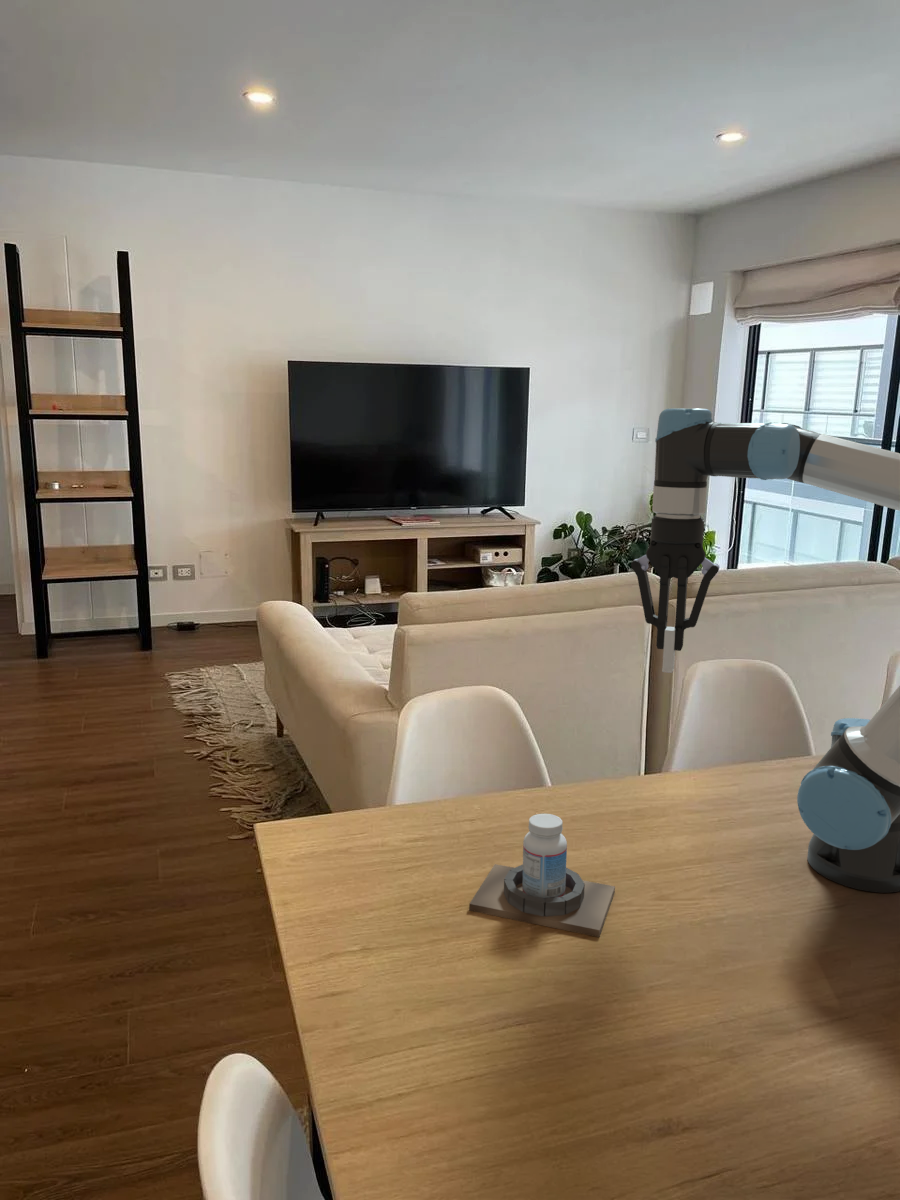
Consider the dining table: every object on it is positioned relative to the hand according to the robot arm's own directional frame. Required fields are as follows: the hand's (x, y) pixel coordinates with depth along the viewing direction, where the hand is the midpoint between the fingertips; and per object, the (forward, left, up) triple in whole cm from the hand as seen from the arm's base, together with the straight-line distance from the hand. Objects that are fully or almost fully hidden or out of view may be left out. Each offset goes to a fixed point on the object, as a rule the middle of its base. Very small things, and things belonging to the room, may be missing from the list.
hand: (668, 670), depth 134 cm
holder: (+13, +22, -29) cm, 39 cm away
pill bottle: (+13, +22, -29) cm, 38 cm away
